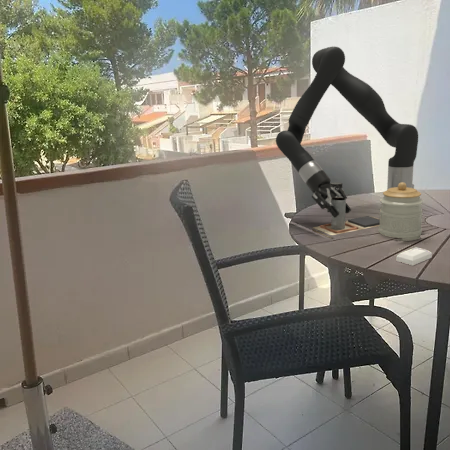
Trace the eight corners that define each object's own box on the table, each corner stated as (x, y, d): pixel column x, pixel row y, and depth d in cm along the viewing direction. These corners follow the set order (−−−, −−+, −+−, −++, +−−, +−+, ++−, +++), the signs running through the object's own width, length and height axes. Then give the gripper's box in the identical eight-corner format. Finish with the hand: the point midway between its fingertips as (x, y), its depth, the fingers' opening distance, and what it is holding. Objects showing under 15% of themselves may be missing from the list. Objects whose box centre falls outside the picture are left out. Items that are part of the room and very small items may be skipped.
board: (371, 219, 162) (371, 214, 161) (393, 226, 152) (393, 221, 151) (312, 230, 152) (312, 225, 152) (331, 238, 142) (331, 233, 142)
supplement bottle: (345, 214, 170) (345, 184, 167) (327, 214, 172) (327, 185, 169) (343, 210, 177) (344, 181, 174) (326, 210, 178) (327, 181, 175)
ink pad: (367, 218, 159) (367, 216, 159) (385, 223, 151) (385, 221, 151) (347, 221, 156) (347, 219, 156) (364, 227, 148) (365, 225, 148)
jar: (417, 244, 133) (421, 187, 128) (374, 239, 140) (376, 185, 135) (424, 232, 143) (427, 179, 139) (383, 228, 150) (385, 178, 145)
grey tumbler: (329, 226, 152) (330, 197, 149) (342, 225, 152) (343, 196, 149) (333, 230, 147) (334, 200, 144) (346, 229, 148) (347, 199, 145)
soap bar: (396, 262, 121) (396, 253, 120) (415, 254, 125) (415, 246, 125) (412, 267, 117) (412, 257, 116) (431, 259, 121) (432, 250, 121)
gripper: (308, 172, 145) (338, 211, 140) (332, 166, 154) (361, 203, 149) (295, 186, 150) (324, 224, 145) (319, 180, 159) (347, 215, 154)
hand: (343, 213), depth 147 cm, fingers open, 6 cm apart
